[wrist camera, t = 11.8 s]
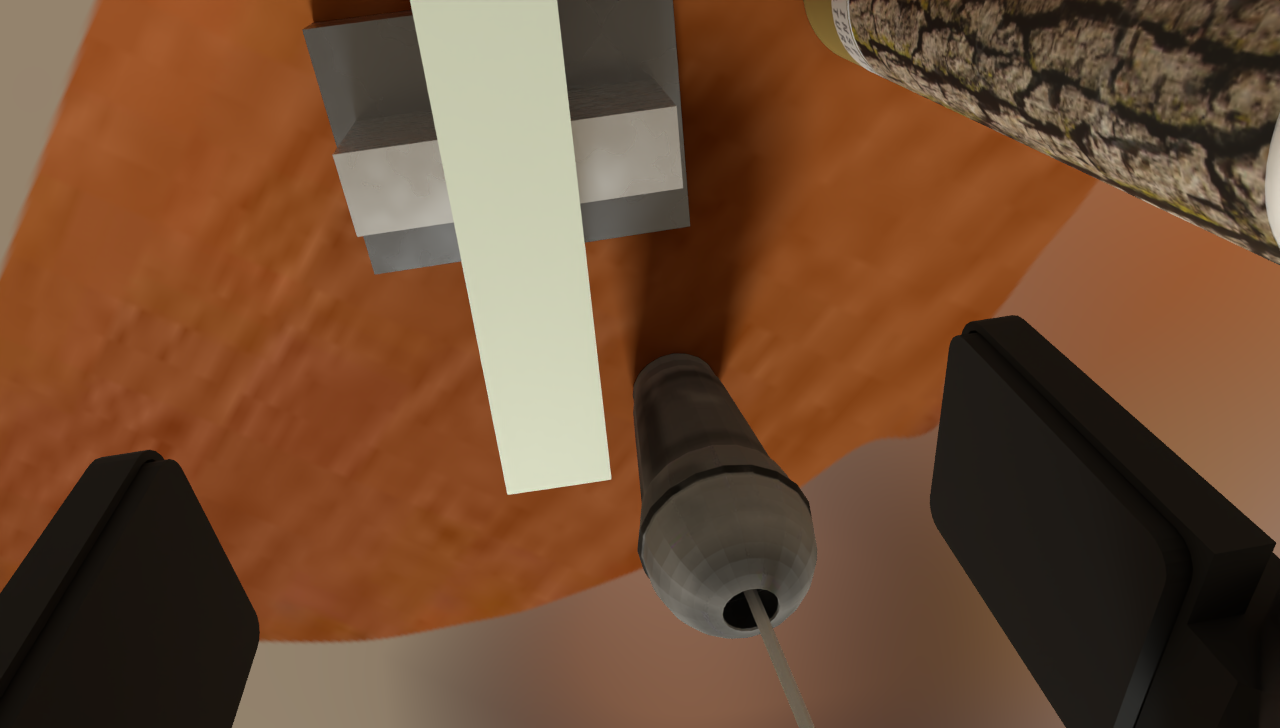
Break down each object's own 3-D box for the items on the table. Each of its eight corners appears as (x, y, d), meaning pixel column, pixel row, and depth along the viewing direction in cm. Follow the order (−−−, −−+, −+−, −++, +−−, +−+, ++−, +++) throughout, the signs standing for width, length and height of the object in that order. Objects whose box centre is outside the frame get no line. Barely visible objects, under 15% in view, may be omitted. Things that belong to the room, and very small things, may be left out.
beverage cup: (685, 301, 40) (818, 600, 23) (769, 389, 44) (939, 706, 27) (577, 391, 42) (627, 730, 25) (666, 469, 45) (764, 816, 28)
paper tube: (872, 92, 37) (1394, 368, 15) (763, -8, 34) (1213, 155, 12) (984, -41, 34) (1780, 59, 13) (878, -160, 32) (1664, -283, 10)
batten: (389, -190, 23) (369, -205, 20) (528, -200, 24) (532, -216, 20) (507, 435, 34) (507, 494, 31) (601, 422, 35) (611, 479, 31)
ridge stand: (313, 22, 32) (268, 51, 26) (662, -23, 33) (697, -6, 27) (380, 256, 37) (356, 326, 31) (681, 211, 38) (714, 270, 32)
